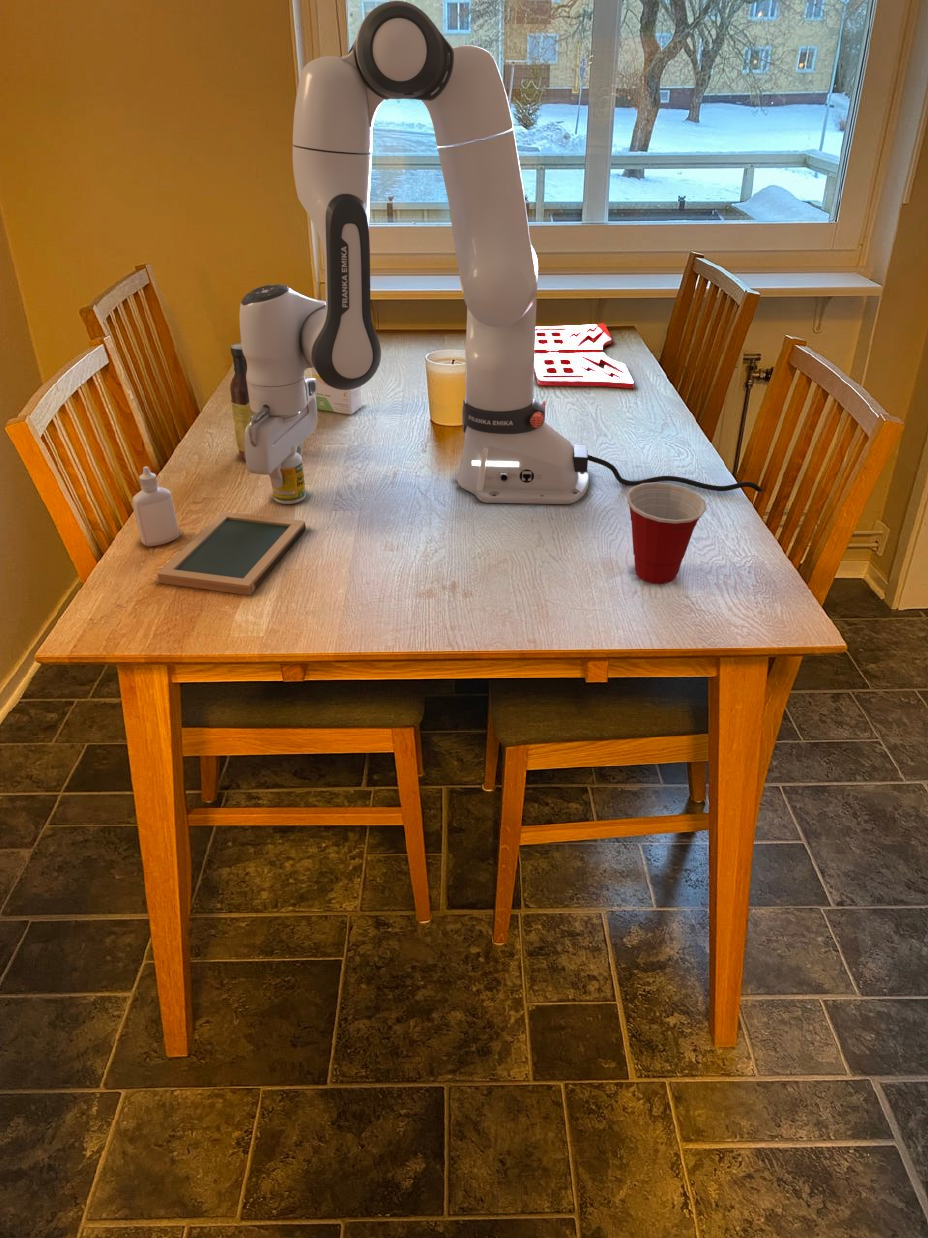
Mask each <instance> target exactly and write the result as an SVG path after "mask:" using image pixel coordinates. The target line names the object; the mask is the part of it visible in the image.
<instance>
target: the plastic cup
mask: <svg viewBox="0 0 928 1238" xmlns="http://www.w3.org/2000/svg"><path fill="white" fill-rule="evenodd" d="M626 501H627V502H626V503H627V505H628V507H629V514H630V522H631V535H632V553H633V557H634V572H635V575H636V577H637V578H638V579H639V580H642V582H645V583H649V584H653V585H664V584H669V583H671V582H674V580H675V579H676V578H677V575H678V574H679V571H680V568H681V565H682V562H683V559H684V558H685V555H686V552H687V549H688V547H689V543H690V542H691V541H690V540H691V538H692V535H693V532H694V529H695V528H696V526H697V524H698V521H699V520H700V519H701V518H702V516H703V515H704V514H705V513H706V511H707V503H706V501H705V499H703V497H702V496H701V495H700V494H699V493H697V492H695V491H693V490H691V489H689V488H687V487H685V486H683V485H678V484H675V483H670V482H662V481H659V482H652V483H642V484H640V485H634V486H631V488H630V489H629V490H628V491H627V493H626Z"/></svg>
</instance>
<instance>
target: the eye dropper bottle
mask: <svg viewBox="0 0 928 1238" xmlns="http://www.w3.org/2000/svg"><path fill="white" fill-rule="evenodd" d="M138 479H139V484H140V489H141V490H139V492H137V493H136V494H135V495H134V496H133V497H132V505H133V506H132V507H133V511H134V515H135V521H136V525H137V529H138V534H139V538H140V542H141V543H142V544H143V545H144V546H146V547H157V546H161V545H165V544H168V543H171V542H172V541H175V540H176V539H178V538H179V537H180V529H179V526H178V519H177V513H176V509H175V506H174V505H175V504H174V500H173V495H172V493H171V491H170V489H168V488H166V487H164V486H159V482H158V478H157V474H156V473H154V472H151V470H150V468H149V466H147V465H145V466H143V467H142V474H140V475H139V477H138Z"/></svg>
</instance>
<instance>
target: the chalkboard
mask: <svg viewBox="0 0 928 1238" xmlns="http://www.w3.org/2000/svg"><path fill="white" fill-rule="evenodd" d="M306 531H307V528H306V521H305V520H300V519H293V518H283V517H274V516H267V515H260V514H259V515H257V514H248V513H240V512H232V511H221V512H220V513H219V514H218V515H217V516H216V517H215V518H214V519H213V520H211V522H209V524H208V525H206V526H205V527H204V528H203V529H202V531H200V532H199V533H198V534H197V535H196V536H195V537H194V538H193V539H192V540H191V541H190V542H189V543H188V544H187V545H185V547H183V548H182V549H181V550H180V551H179V552H178V553H177V554H176V555H175V556H174V557H173V558H172V559H171V560H170V561H169V562H168V563H167V564H165V565H164V567H162V568H161V569H160V570H159V571H158V572H157V573H156V574H157V579H158V583H159V584H162V585H163V584H164V585H171V586H179V587H187V588H193V589H201V590H208V591H214V592H223V593H231V594H237V595H243V596H245V595H246V596H251V595H252V594H253V593H254V591H255V590H256V589H257V588H258V587H259V586H260V585H261V583H262V582H263V581H264V580H265V579H266V578H267V576H268V575H269V574H270V573H271V572H272V571H273V569H274V568H275V567H276V566H277V564H279V562H280V561H281V560H282V559H283V557H284V556H285V555H286V554H287V553H288V551H290V549H291V548H292V547H293V546H294V545H295V544H296V543H297V542H298V541H299V539H300V538H301V537H302V535H303V534H304V533H305V532H306Z"/></svg>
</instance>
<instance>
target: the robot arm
mask: <svg viewBox="0 0 928 1238" xmlns="http://www.w3.org/2000/svg"><path fill="white" fill-rule="evenodd" d="M501 75H502V74H501V73H500V69H499V67H498V64H497V61H496V60H495V57H494V56H493V55H492V54H491V52H489V51H488V50H487V49H485V48H482V47H480V46H476V45H469V44H467V45H460V46H455V47H454V46H453V47H452V45H451V44H450V43H449V42H448V40H447V39H446V37H445V36H444V35H443V33H441V31H440V29H439V28H438V27H437V26H436V24H435V23H434V21H433V20H432V19H431V17H429V16H428V15H427V13H426V12H424V10H422V9H421V8H420V7H418V6H417V5H415V4H412V3H410V2H407V1H403V0H390V1H387V2H384V3H380V4H379V5H377V6H375V7H374V8H373V9H372V10H370V11H369V12H368V14H367V15H366V16H365V17H364V19H363V20H362V22H361V23H360V26H359V28H358V31H357V34H356V38H355V40H354V42H353V43H352V46H351V47H350V49H349V51H348V53H347V54H345V55H341V56H339V55H338V56H337V55H324V56H320V57H317V58H314V59H313V60H310V61H309V62H307V63H306V64H305V65H304V67H303V68H302V69H301V72H300V75H299V79H298V85H297V91H296V96H295V103H294V112H293V124H292V125H293V126H292V171H293V179H294V185H295V190H296V195H297V199H298V200H299V202H300V204H301V206H302V207H303V209H304V210H305V212H306V214H307V215H308V217H309V219H310V220H311V222H312V224H313V226H314V228H315V230H316V232H317V234H318V237H319V239H320V243H321V247H322V250H323V257H324V283H325V284H324V286H325V287H324V288H325V289H324V290H325V300H321V299H315V298H312V297H309V296H305V295H303V294H301V293H299V292H297V291H295V290H293V289H292V288H290V287H289V286H288V285H286V284H280V283H276V284H266V285H263V286H262V285H261V286H259V287H257V288H254V289H252V290H250V291H249V292H248V293H246V294H245V296H243V298H242V299H241V302H240V304H239V305H240V306H239V333H240V334H239V335H240V343H241V344H242V351H243V354H244V356H245V359H246V362H247V372H246V381H247V388H248V396H249V403H250V409H251V410H252V411H253V412H255V414H253V415H252V417H251V422H250V423H249V424H248V425H247V427H246V429H245V457H246V460H245V466H246V469H247V471H248V472H249V473H250V474H255V475H263V476H269V478H270V484H271V488H272V487H274V488H281V487H282V486H283V485H284V484H285V475H283V474H281V471H280V468H281V463H282V462H283V461H284V460H285V459H286V458H287V457H288V456H289V455H290V454H291V450H292V449H291V447H292V446H293V445H294V444H295V443H296V446H297V451H296V452H297V453H298V454H300V456H301V457H302V456H303V451H304V442H305V441H306V440H307V439H308V438H309V437H310V436H311V435H312V434H313V433H314V432H315V431H316V429H317V425H318V409H317V404H316V396H315V392H316V390H317V381H316V379H315V378H313V377H308V376H307V377H306V376H305V371H306V370H308V369H312V368H315V370H316V372H317V373H318V375H319V376H320V378H321V379H322V380H323V381H324V382H325V383H326V384H327V385H329V386H331V387H333V388H335V389H340V390H350V389H355V388H358V387H360V386H361V387H362V386H363V385H365V384H366V383H368V382H369V381H370V380H371V379H372V378H373V377H374V376H375V374H376V373H377V371H378V369H379V366H380V364H381V360H382V348H381V343H380V340H379V337H378V335H377V332H376V329H375V327H374V323H373V318H372V306H371V304H372V303H371V243H370V241H371V240H370V239H371V238H370V196H371V179H372V162H373V161H372V160H373V159H372V158H373V136H374V135H373V134H374V133H373V131H374V124H375V118H376V115H377V113H378V109H379V108H380V106H381V105H382V104H383V103H384V102H385V101H387V100H416V101H421V102H422V103H423V104H424V106H425V107H426V110H427V111H428V113H429V117H430V119H431V122H432V128H433V130H434V137H435V142H436V146H437V151H438V157H439V162H440V167H441V172H442V177H443V181H444V187H445V193H446V197H447V201H448V207H449V214H450V221H451V231H452V237H453V244H454V250H455V251H454V252H455V257H456V262H457V263H456V264H457V270H458V275H459V276H458V277H459V282H460V288H461V292H462V297H463V301H464V303H465V306H466V329H465V330H466V334H465V349H464V350H465V354H464V355H465V359H464V360H465V362H464V363H465V398H464V399H463V401H462V403H463V404H462V408H461V409H462V411H461V415H462V416H461V421H462V422H461V423H462V426H463V427H462V430H463V431H462V432H463V434H464V438H463V440H464V441H463V446H462V454H461V460H460V464H459V468H458V472H457V474H456V483H457V484H458V485H459V486H460V487H461V488H462V489H463V490H465V491H467V492H469V493H471V494H473V495H475V497H476V498H477V499H478V500H479V501H480V502H482V503H489V504H491V503H492V504H498V503H499V504H538V505H539V504H543V505H544V504H545V505H571V504H574V503H576V502H577V501H580V500H581V499H582V498H583V497H584V496H585V495H586V493H587V490H588V489H589V485H590V476H589V472H588V464H589V462H592V463H596V464H597V465H601V466H603V467H605V468H607V469H609V470H610V471H611V473H612V474H613V476H614V478H615V480H616V481H617V482H618V483H620V484H621V485H624V486H627V487H629V486H630V487H634V486H637V485H640V484H642V483H652V482H673V483H681V484H685V485H689V486H692V487H695V488H699V489H703V490H708V491H714V492H727V491H733V490H737V489H741V488H751V489H753V490H754V491H756V492H758V493H759V492H761V493H762V492H763V488H762V487H761V486H759V485H758V484H757V483H755V482H753V481H740V482H736V483H732V484H728V485H727V484H726V485H715V484H709V483H704V482H700V481H697V480H694V479H689V478H686V477H683V476H682V477H681V476H675V475H658V476H653V477H650V478H645V479H640V480H628V479H626V478H623V477H622V476H621V474H620V473H619V471H618V469H617V468H616V466H615V465H614V464H612V463H610V462H609V461H607V460H605V459H602V458H599V457H596V456H594V455H590V454H589V451H588V445H587V444H572V442H571V441H570V440H569V439H568V438H566V437H564V435H562V434H560V433H559V432H558V431H556V429H554V428H553V427H552V426H550V425H549V424H548V423H547V422H545V421H546V401H545V400H543V401H542V403H540V401H538V400H537V399H536V398H535V397H534V390H535V389H534V388H535V387H534V385H535V371H534V361H535V332H536V327H537V325H536V324H537V303H538V302H537V301H538V278H539V277H538V276H539V272H538V271H539V263H538V257H537V254H536V251H535V249H534V247H533V245H532V241H531V237H530V236H531V235H530V227H529V220H528V213H527V206H526V197H525V189H524V183H523V178H522V176H523V175H522V172H521V165H520V159H519V152H518V147H517V141H516V135H515V134H516V133H515V129H514V122H513V117H512V112H511V108H510V103H509V99H508V95H507V92H506V88H505V84H504V82H503V79H502V76H501Z"/></svg>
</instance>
